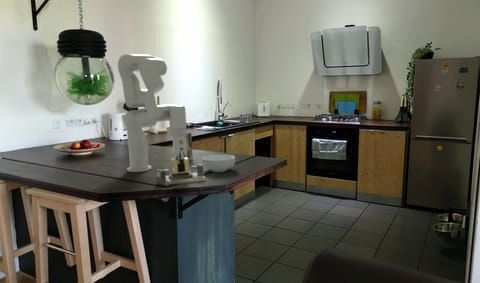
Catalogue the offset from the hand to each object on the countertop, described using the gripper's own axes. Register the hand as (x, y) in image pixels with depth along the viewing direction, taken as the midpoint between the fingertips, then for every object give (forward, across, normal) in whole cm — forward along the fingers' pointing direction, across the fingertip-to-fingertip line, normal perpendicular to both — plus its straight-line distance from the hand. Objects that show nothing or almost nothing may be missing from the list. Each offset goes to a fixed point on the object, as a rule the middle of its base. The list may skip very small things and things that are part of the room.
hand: (180, 170), depth 170 cm
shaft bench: (+5, 0, +1) cm, 5 cm away
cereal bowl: (+5, +10, -22) cm, 25 cm away
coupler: (0, 0, 0) cm, 0 cm away
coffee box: (+5, +41, -11) cm, 43 cm away
